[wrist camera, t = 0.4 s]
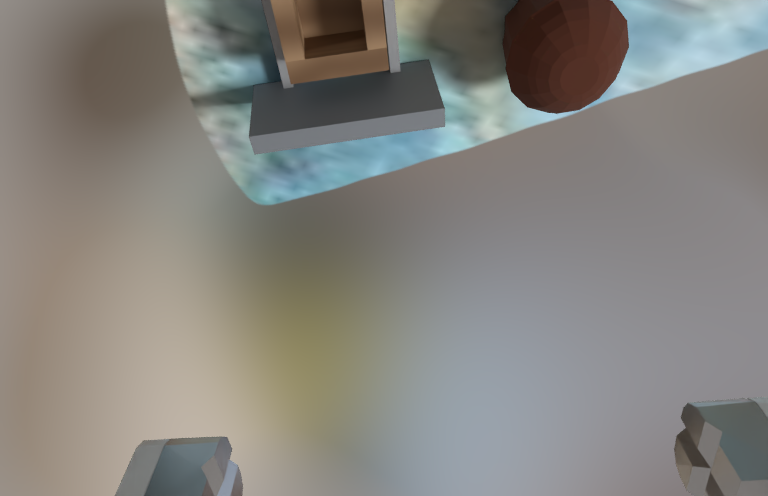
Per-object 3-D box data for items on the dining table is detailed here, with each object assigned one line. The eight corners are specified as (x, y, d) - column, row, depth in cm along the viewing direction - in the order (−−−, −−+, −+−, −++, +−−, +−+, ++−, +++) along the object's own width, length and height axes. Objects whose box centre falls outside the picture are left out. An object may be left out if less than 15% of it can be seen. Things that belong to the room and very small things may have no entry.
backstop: (210, -63, 49) (197, -20, 43) (421, -93, 49) (440, -55, 43) (258, 102, 60) (254, 154, 54) (429, 77, 60) (445, 126, 54)
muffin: (606, 54, 61) (646, 107, 54) (504, 93, 63) (530, 148, 56) (595, -57, 53) (640, -13, 46) (477, -8, 55) (504, 42, 48)
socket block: (266, -57, 49) (263, -30, 45) (370, -72, 49) (377, -46, 45) (291, 52, 57) (290, 84, 53) (382, 39, 57) (389, 70, 53)
